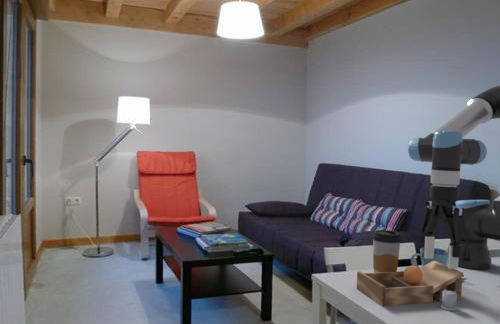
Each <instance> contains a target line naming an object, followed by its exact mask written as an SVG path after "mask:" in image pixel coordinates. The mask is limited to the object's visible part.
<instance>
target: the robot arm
mask: <svg viewBox="0 0 500 324" xmlns="http://www.w3.org/2000/svg"><path fill="white" fill-rule="evenodd" d="M496 119H500V85H496V86H493V87H491V88H488V89H486V90H484V91H482V92H481V93H479V94H476V95H475V96H474V97H472V98H471V99H470V100H468V101H467V103H466V104H465V107H464V108H463V109H461V110H459V111H458V112H457V113H456V114H455V115H453V116H452V117H450V118H449V119H448V120H447V121H445V122H444V123H443V124H441V125H439V127H437V128H435V130H433V131H432V132H430V133H429V134H427V136H425V137H418V138H417V137H414V138H412V139H411V140H410V142H409V143H408V147H407V151H408V152H407V153H408V156H409V158H410V159H411V160H413V161H415V162H418V161H419V162H421V163H424V162H426V163H431V170H430V183H431V184H432V185H431V186H430V187H429V197H430V198H431V199H432V201H431V200H429V201H428V200H426V201H424V210H423V213H422V214H423V215H422V219H421V223H420V228H419V232H420V233H422V235H423V236H424V239H423V240H424V242H423V245H424V251H423V252H424V255H423V258H424V259H425V260H428V259H432V260H433V259H434V257H435V256H434V255H435V240H436V238H435V232H436V229H437V227H438V225H439V223H440V220H441V219H442V221H443V222H444V223H445V226H446V228H447V229H446V230H447V232H448V233H447V234H448V236H449V240H450V242H449V244H448V248H447V249H446V252H447V251H448V252H449V254H448V263H447V266H448V268H449V269H456V270H458V269H459V267H460V268H465V269H471V270H472V269H473V270H474V269H475V270H488V269H491V268H492V266H493V265H492V263H493V262H492V258H491V255H490V250H489V247H488V240H493V241H498V242H500V195H499V196H497V197H496V198H494V199H493V205H492V204H491V201H490V200H489V199H464V200H463V199H460V200H459V198H460V188H459V185H460V181H461V180H460V179H461V166H462V165H468V166H469V165H471V166H473V165H478V164H480V163H482V162H483V161H484V160H485V159H486V157H487V154H488V151H487V146H486V144H485V143H484V142H483V141H481V140H479V139H475V138H464V137H465V136H467V135H468V134H470V132H472V131H473V130H474V129H475V128H477V127H478V126H479V125H481V124H485V123H488V122H489V121H490V120H496Z"/></svg>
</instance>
